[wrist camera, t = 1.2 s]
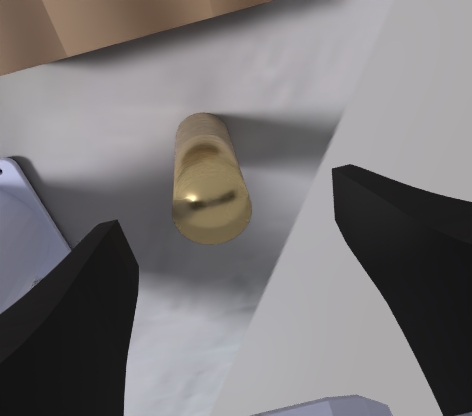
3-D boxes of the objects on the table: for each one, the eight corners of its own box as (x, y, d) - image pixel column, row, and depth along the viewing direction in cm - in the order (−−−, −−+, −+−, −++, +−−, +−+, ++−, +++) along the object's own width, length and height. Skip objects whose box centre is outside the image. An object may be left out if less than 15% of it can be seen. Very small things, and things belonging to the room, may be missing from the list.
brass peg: (185, 169, 21) (186, 252, 14) (168, 121, 20) (160, 189, 13) (234, 155, 21) (258, 233, 14) (221, 106, 20) (242, 167, 13)
